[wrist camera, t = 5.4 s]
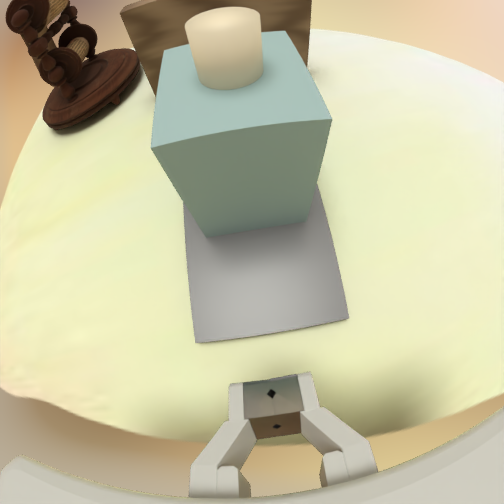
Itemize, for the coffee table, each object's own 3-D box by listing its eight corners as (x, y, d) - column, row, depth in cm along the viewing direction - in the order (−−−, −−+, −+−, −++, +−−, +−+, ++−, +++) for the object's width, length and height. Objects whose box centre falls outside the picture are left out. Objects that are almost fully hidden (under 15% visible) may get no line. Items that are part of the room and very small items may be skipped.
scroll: (68, 83, 30) (16, -1, 11) (150, 50, 30) (111, -57, 11) (39, 151, 26) (-46, 55, 6) (135, 111, 25) (61, -37, 6)
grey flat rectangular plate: (278, 79, 25) (278, 73, 24) (345, 319, 18) (349, 318, 17) (184, 95, 25) (182, 89, 24) (199, 342, 18) (195, 342, 17)
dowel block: (283, 134, 21) (285, -12, 9) (306, 221, 19) (345, 57, 7) (199, 148, 21) (150, 10, 9) (206, 237, 19) (119, 93, 7)
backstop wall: (301, 68, 25) (305, -24, 14) (306, 77, 25) (312, -19, 13) (159, 91, 26) (124, 6, 14) (158, 102, 25) (119, 13, 14)
